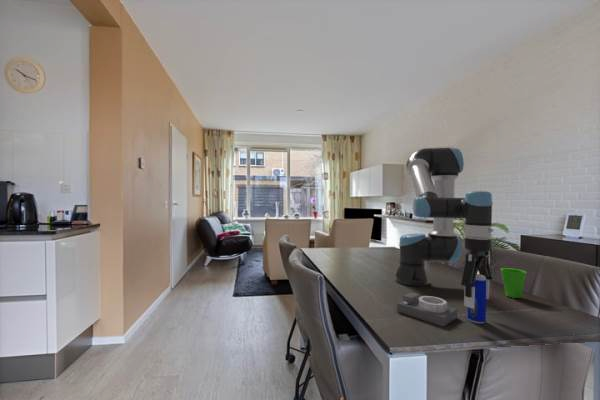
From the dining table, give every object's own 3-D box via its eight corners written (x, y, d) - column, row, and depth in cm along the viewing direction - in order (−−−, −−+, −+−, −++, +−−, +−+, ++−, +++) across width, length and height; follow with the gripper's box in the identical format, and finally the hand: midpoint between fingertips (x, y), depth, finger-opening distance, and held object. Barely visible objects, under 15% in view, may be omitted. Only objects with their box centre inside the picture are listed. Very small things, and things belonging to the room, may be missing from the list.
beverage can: (464, 317, 99) (464, 273, 99) (478, 317, 99) (479, 273, 99) (474, 324, 93) (475, 277, 93) (489, 323, 94) (490, 277, 94)
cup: (531, 301, 116) (532, 273, 116) (506, 299, 118) (506, 272, 118) (519, 294, 125) (519, 268, 125) (495, 292, 127) (496, 267, 127)
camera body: (396, 311, 103) (397, 295, 103) (412, 304, 110) (412, 290, 110) (443, 326, 91) (443, 309, 91) (457, 317, 98) (457, 301, 98)
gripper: (477, 242, 85) (476, 314, 85) (502, 236, 102) (501, 297, 101) (450, 239, 91) (449, 307, 91) (478, 234, 107) (477, 292, 107)
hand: (476, 302), depth 96 cm, fingers open, 13 cm apart
